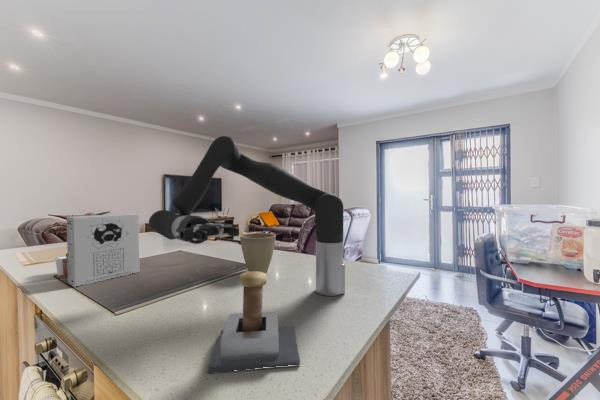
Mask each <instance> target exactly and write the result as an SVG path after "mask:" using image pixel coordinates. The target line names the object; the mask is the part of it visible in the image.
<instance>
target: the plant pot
mask: <svg viewBox="0 0 600 400" xmlns="http://www.w3.org/2000/svg"><path fill="white" fill-rule="evenodd" d="M239 235H240V236H239V239H240V245H241V252H242V255H243V259H244V262H245V265H246V268H247V272H251V271H258V272H263V273H265V274H266V275H267V273H268V270H269V268H270V265H271V262H272V259H273V254H274V251H275V245H276V237H277V235H276V234H275V233H270V232H269V233H268V232H255V233H253V232H252V233H244V234H239Z"/></svg>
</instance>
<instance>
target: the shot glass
mask: <svg viewBox="0 0 600 400" xmlns="http://www.w3.org/2000/svg"><path fill="white" fill-rule="evenodd" d="M65 258H67V257H66V255H63V256H59V257H56V258H55V266H56V267H55V268H56V274H57V276H60V275H63V261H62V259H65Z"/></svg>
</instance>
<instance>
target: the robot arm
mask: <svg viewBox="0 0 600 400" xmlns="http://www.w3.org/2000/svg"><path fill="white" fill-rule="evenodd" d="M219 168H223V169H224V170H227V171H230V172H232V173H234V174H237V175H239V176H242V177H244V178H246V179H248V180H250V181H251V182H253V183H255V184H257V185H258V186H260V187H262V188H264V189H266V190H267V191H269V192H271V193H273V194H275V195H278V196H279V197H282V198H285V199H288V200H291V201H294V202H297V203H299V204H302V205H304V206H305V207H308V208H309V209H310V210H312V211H313V212H314V232H315V292H316V293H317V294H318V295H321V296H326V297H336V296H339V295H343V294H346V265H345V264H344V204H343V200H342V199H341V198H340V197H339V196H338V195H337V194H334V193H330V192H328V191H325V190H322V189H320V188H317V187H315V186H313V185H311V184H309V183H307V181H305V180H303V179H302V178H300V177H299V176H297V175H295V174H294V173H292V172H290V171H289V170H287V169H285V168H283V167H281V166H280V165H277V164H274V163H272V162H265V161H258V160H254V159H252V158H250V157H249V156H247V155H246V154H244V153H242V152H241V151H240V150H239V148H238V145H237V144H236V142H235V140H234V139H233V138H232V137H230V136H229V135H228V136H226V135H221V136H218V137H216V138H215V139H214V140H213V141H212V143H211V144H210V145H209V147H208V149H207V151H206V153H205V154H204V156H203V158H202V159H201V161H200V163H199V164H198V166H197V167H196V169H195V171H194V172H193V174H192V175H191V176H190V178H189V179H188V180H187V182H186V183H185V184H184V186H183V187H182V188H181V189H180V190H179V192H178V193H177V194H176V195H175V196H174V198H173V199H172V201H171V205H173V207H174V208H175V209H176V210H177V212H178V214H177V213H175V212H172V211H170V210H166V209H160V210H158V211H157V210H156V211H155V212H154V213H152V214H151V216H150V217H149V219H148V226H149V228H150V229H151V230H152V231H154V232H156V233H157V234H159V235H161V236H163V237H164V238H166V239H168V240H180V241H181V242H186V243H189V244H195V245H198V244H199V245H200V244H203V243H204V242H205V241H208V239H212V238H222V237H224V236H231V237H238V236H239V235H240V228H239V227H237V225H236V224H231V223H230V224H229V223H224V222H223V223H213V222H210V221H209V220H208V218H206V217H204V216H200V215H192V213H193V211H194V210H195V208H196V207H197V205H199V203H201V201H202V200H203V198H204V197H205V194H206V192H207V190H208V189H209V185H210V184H211V180H212V179H213V178H214V175H215V173H216V172H217V170H218V169H219ZM239 237H240V236H239Z"/></svg>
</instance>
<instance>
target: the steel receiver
mask: <svg viewBox="0 0 600 400" xmlns="http://www.w3.org/2000/svg"><path fill="white" fill-rule="evenodd" d="M278 321H279V320H278V311H275V310H274V311H262V327H261V331H252V332H242V329H243V312H239V313H229V315H228V318H227V321H226V323H225V326H224V329H222V330H220V332H219V336H218V339H217V341H216V344H215V347H214V348H213V349H214V350H213V353H212V356H211V358H210V361H209V364H208V367H207V373H208V374H213V373H212V372H221V373H226V372H225V371H233V372H235V371H234V370H246V369H255V368H263V367H276V366H288V365H300V366H301V364H300V363H301V360H300V354H299V348H298V343H297V337H296V331H295V327H294V325H289V326H287V325H286V326H279V322H278ZM223 371H224V372H223ZM246 371H247V370H246Z"/></svg>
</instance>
